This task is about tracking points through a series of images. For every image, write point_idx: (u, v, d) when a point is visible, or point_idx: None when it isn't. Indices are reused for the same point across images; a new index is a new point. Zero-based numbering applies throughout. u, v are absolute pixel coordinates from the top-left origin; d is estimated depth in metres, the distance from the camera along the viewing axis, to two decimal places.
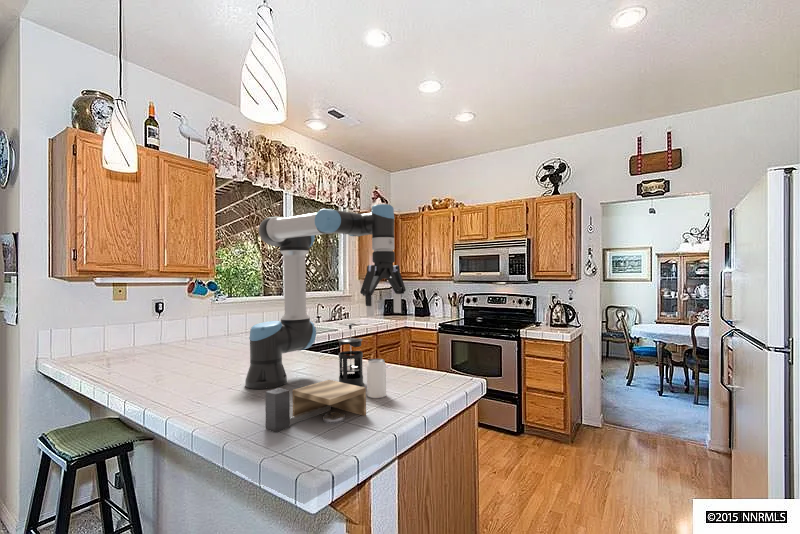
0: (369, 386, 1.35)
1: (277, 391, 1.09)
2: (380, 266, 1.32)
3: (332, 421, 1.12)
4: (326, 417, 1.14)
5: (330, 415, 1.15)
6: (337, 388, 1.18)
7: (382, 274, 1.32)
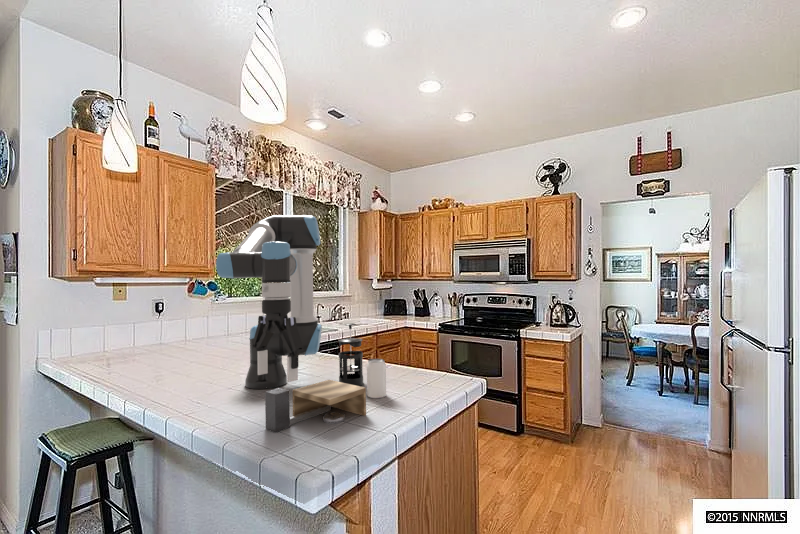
0: (369, 386, 1.35)
1: (277, 391, 1.09)
2: (266, 317, 1.11)
3: (332, 421, 1.12)
4: (326, 417, 1.14)
5: (330, 415, 1.15)
6: (337, 388, 1.18)
7: (265, 327, 1.10)
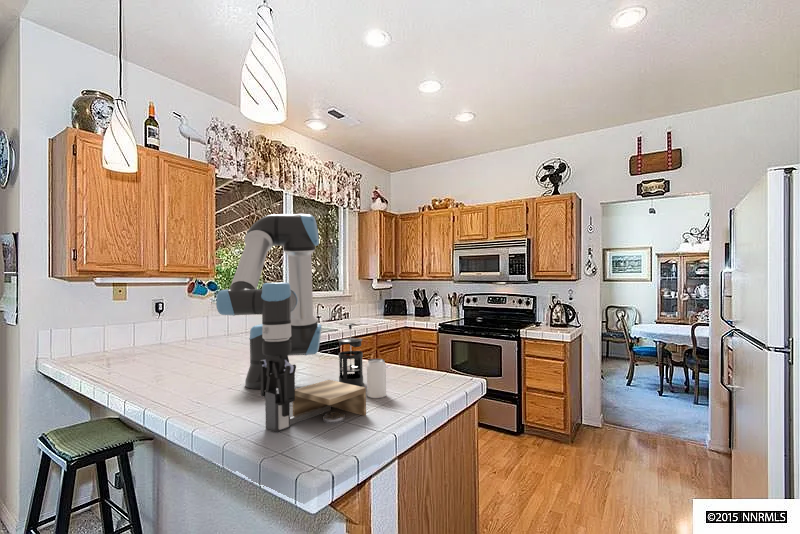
0: (369, 386, 1.35)
1: (277, 391, 1.09)
2: (266, 357, 1.11)
3: (332, 421, 1.12)
4: (326, 417, 1.14)
5: (330, 415, 1.15)
6: (337, 388, 1.18)
7: (267, 370, 1.09)
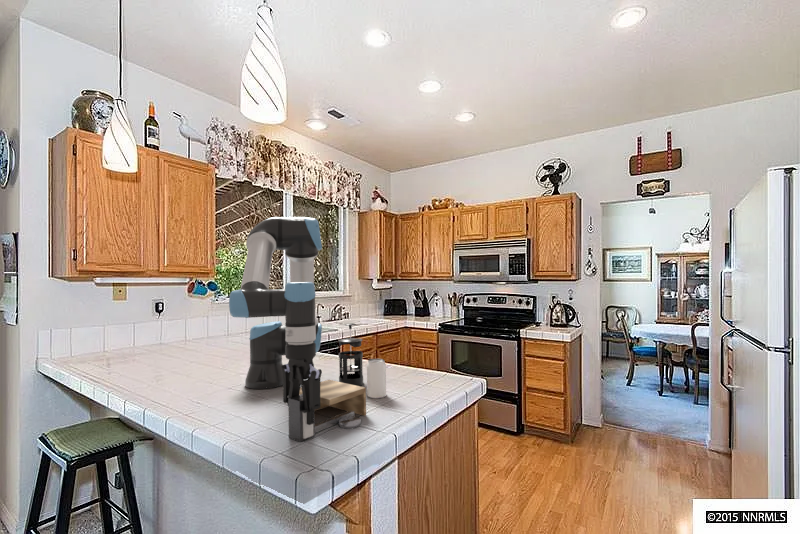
0: (369, 386, 1.35)
1: (301, 397, 1.03)
2: (289, 362, 1.04)
3: (348, 426, 1.08)
4: (342, 421, 1.10)
5: (346, 419, 1.11)
6: (337, 388, 1.18)
7: (291, 375, 1.03)
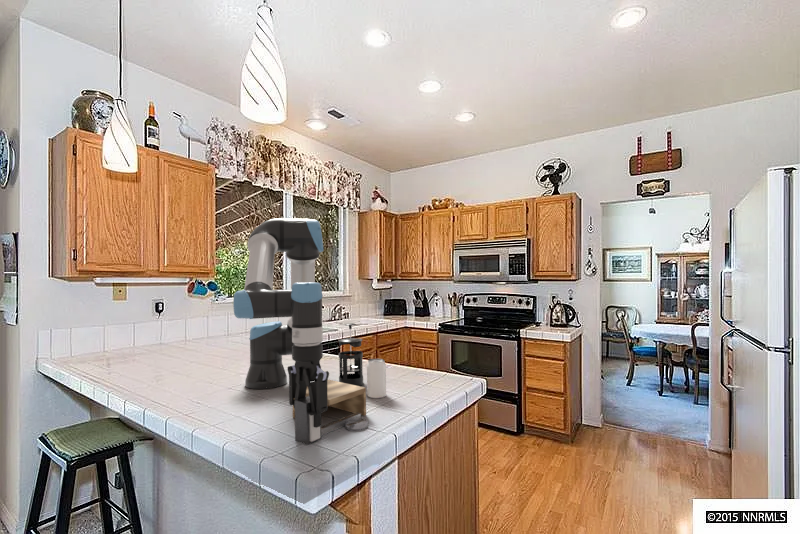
0: (369, 386, 1.35)
1: (308, 400, 1.01)
2: (296, 363, 1.03)
3: (355, 428, 1.07)
4: (348, 424, 1.08)
5: (352, 422, 1.10)
6: (337, 388, 1.18)
7: (297, 377, 1.01)
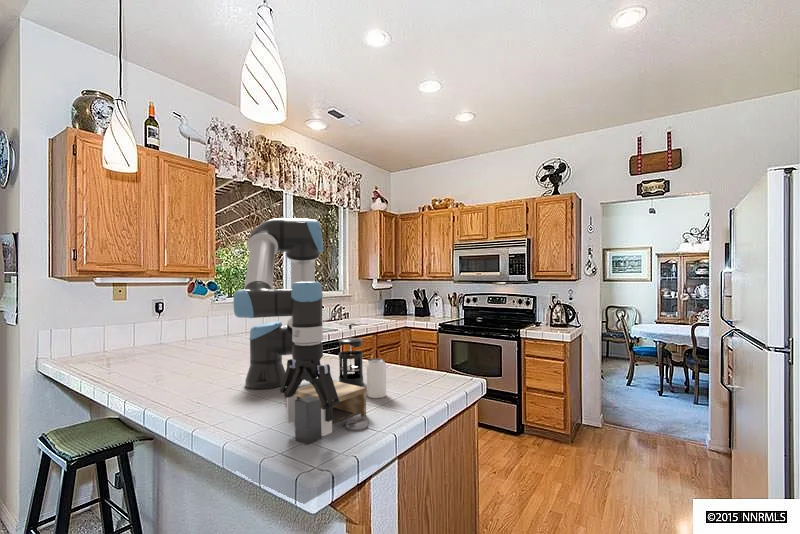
0: (369, 386, 1.35)
1: (308, 399, 1.01)
2: (297, 363, 1.03)
3: (355, 428, 1.07)
4: (348, 424, 1.08)
5: (353, 422, 1.10)
6: (337, 388, 1.18)
7: (296, 374, 1.02)
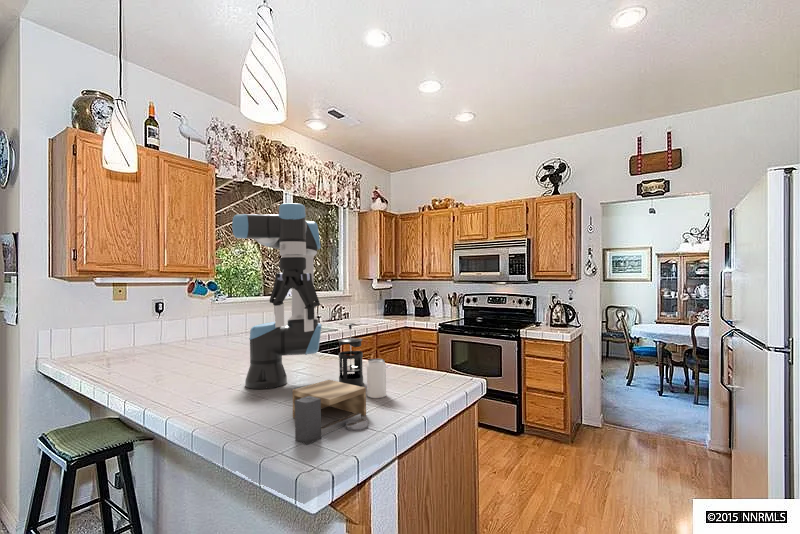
0: (369, 386, 1.35)
1: (308, 399, 1.01)
2: (283, 274, 1.19)
3: (355, 428, 1.07)
4: (348, 424, 1.08)
5: (353, 422, 1.10)
6: (337, 388, 1.18)
7: (282, 283, 1.19)
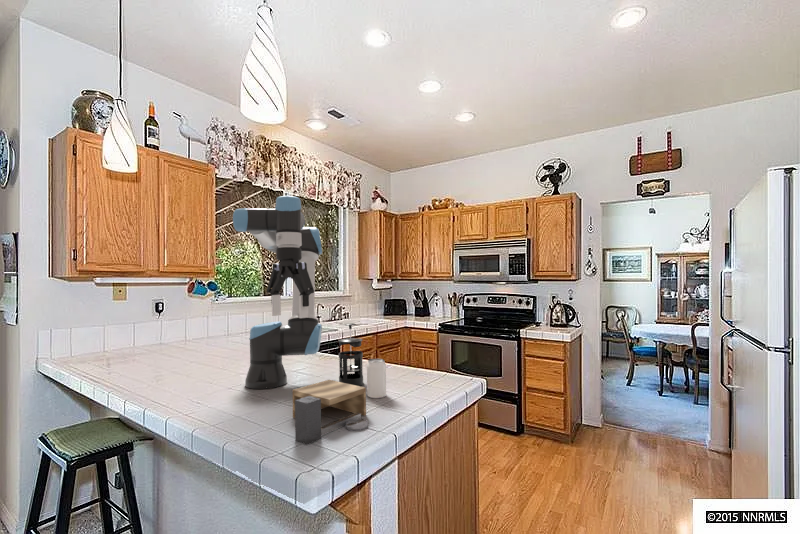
0: (369, 386, 1.35)
1: (308, 400, 1.01)
2: (280, 264, 1.25)
3: (355, 428, 1.07)
4: (348, 424, 1.08)
5: (353, 422, 1.10)
6: (337, 388, 1.18)
7: (279, 273, 1.24)
